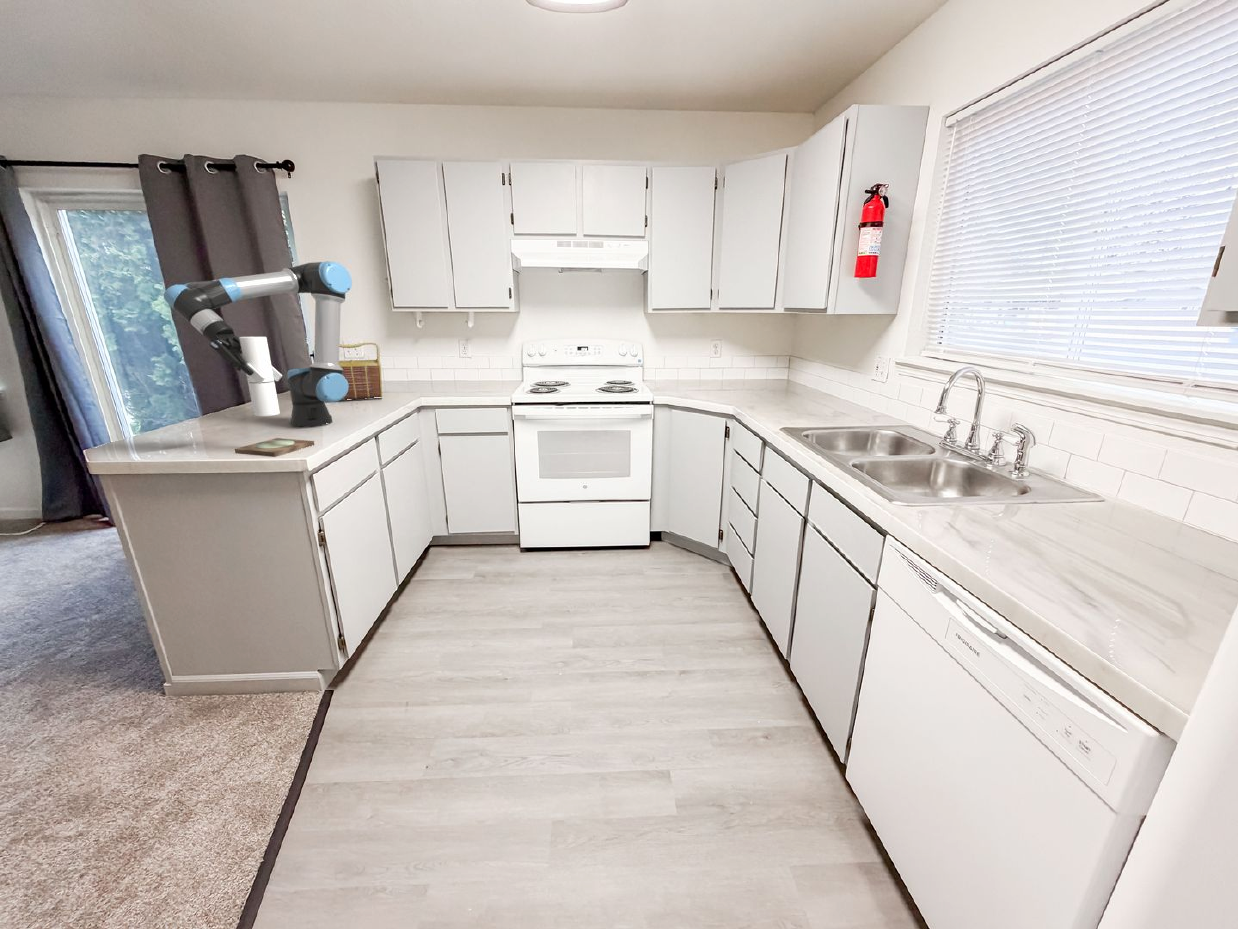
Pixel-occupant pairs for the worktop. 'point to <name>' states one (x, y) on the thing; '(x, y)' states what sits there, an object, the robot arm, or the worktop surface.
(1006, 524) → the worktop surface
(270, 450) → the board
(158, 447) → the worktop surface
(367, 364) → the picnic basket
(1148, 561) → the worktop surface
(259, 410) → the cylindrical container
